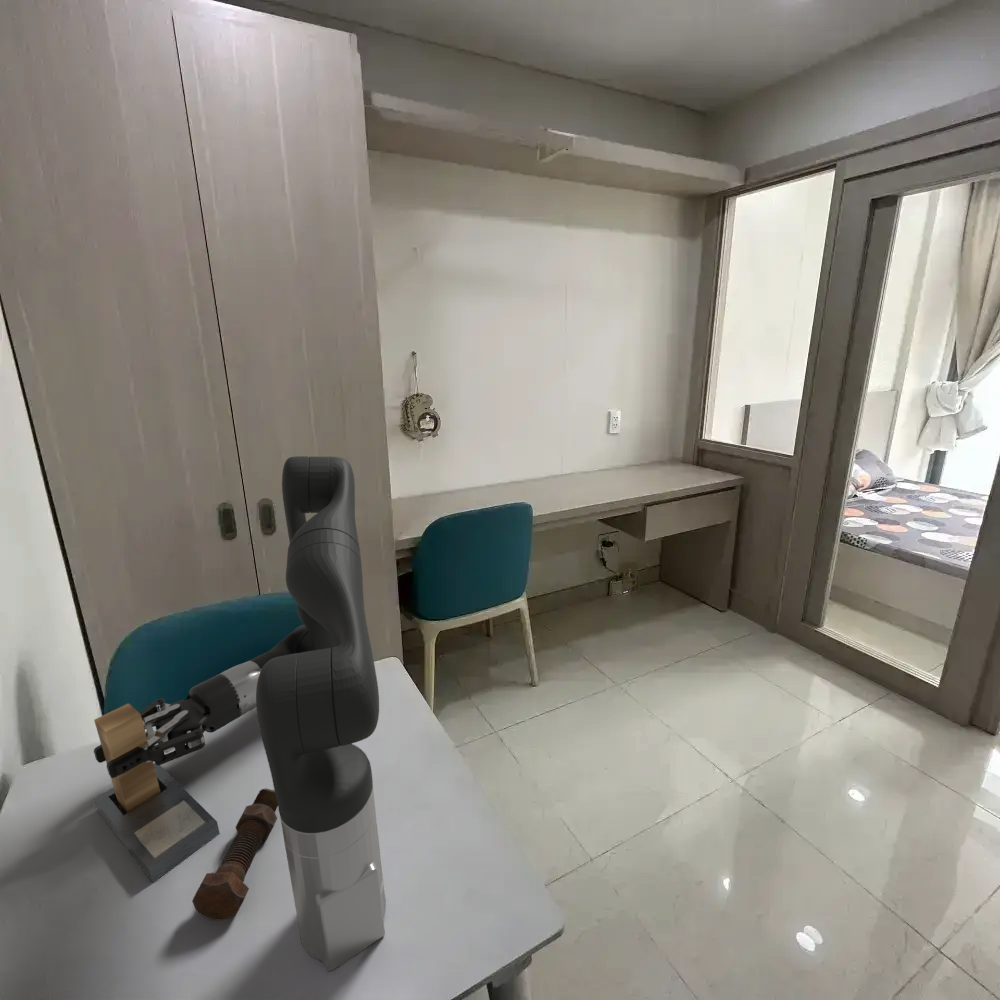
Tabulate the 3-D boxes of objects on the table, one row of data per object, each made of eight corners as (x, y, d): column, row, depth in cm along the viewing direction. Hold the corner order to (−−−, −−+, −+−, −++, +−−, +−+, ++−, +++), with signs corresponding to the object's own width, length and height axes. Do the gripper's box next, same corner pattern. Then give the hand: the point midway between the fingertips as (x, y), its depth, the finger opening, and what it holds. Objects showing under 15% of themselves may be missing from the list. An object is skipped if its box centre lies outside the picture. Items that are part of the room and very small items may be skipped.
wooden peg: (161, 797, 73) (140, 714, 69) (129, 817, 70) (105, 731, 66) (149, 784, 75) (128, 703, 71) (118, 803, 72) (94, 719, 68)
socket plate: (219, 833, 68) (216, 820, 67) (152, 882, 62) (149, 868, 61) (159, 772, 78) (156, 760, 78) (97, 809, 72) (93, 797, 71)
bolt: (278, 817, 73) (228, 929, 58) (245, 803, 72) (185, 913, 57) (295, 786, 71) (248, 892, 57) (261, 772, 71) (204, 876, 56)
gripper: (204, 659, 84) (76, 719, 71) (250, 690, 76) (116, 764, 63) (212, 698, 86) (89, 763, 73) (258, 732, 78) (130, 812, 65)
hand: (103, 763), depth 68 cm, fingers closed on wooden peg, 4 cm apart
